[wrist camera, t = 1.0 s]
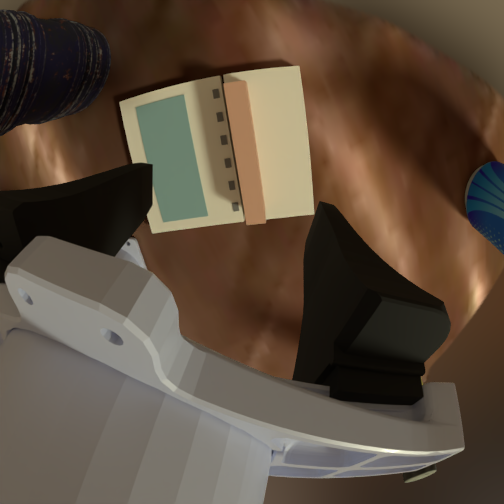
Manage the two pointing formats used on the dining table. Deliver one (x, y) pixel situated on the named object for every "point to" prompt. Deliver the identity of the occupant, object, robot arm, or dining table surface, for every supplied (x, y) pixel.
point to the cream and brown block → (270, 142)
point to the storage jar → (48, 68)
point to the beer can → (487, 202)
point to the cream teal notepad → (186, 154)
